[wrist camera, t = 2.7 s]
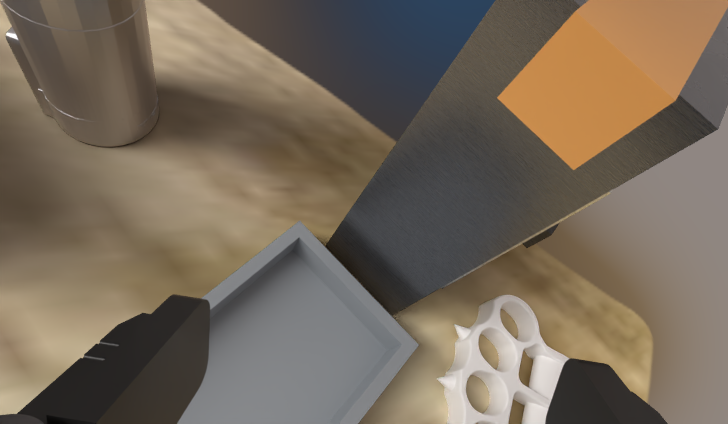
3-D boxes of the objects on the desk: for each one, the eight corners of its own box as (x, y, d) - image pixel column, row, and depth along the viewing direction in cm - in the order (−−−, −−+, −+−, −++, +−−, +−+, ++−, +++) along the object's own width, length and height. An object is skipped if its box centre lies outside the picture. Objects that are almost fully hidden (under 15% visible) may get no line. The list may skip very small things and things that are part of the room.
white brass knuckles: (538, 515, 39) (407, 442, 38) (564, 342, 49) (461, 280, 48) (564, 522, 36) (424, 443, 35) (586, 337, 46) (477, 271, 45)
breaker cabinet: (401, 325, 42) (747, 154, 16) (325, 245, 43) (525, -43, 17) (469, 244, 50) (781, 34, 23) (402, 177, 51) (627, -97, 24)
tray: (156, 658, 27) (150, 692, 23) (3, 469, 28) (-24, 475, 25) (401, 351, 41) (418, 344, 38) (291, 236, 43) (299, 220, 39)
